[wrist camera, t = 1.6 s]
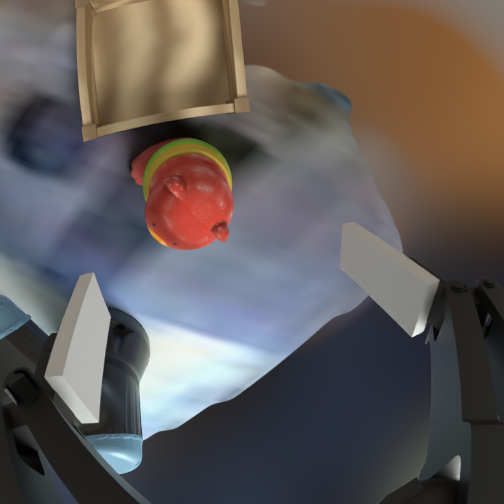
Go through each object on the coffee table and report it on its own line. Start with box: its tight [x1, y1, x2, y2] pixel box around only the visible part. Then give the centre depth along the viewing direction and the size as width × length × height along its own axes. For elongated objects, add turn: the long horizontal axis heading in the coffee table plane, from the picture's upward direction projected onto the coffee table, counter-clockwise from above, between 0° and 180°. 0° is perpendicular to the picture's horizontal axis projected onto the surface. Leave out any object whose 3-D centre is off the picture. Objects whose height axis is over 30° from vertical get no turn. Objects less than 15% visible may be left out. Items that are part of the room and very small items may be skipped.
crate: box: [75, 0, 250, 142], centre depth 25 cm, size 18×18×5 cm
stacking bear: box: [131, 137, 233, 250], centre depth 28 cm, size 11×10×18 cm
